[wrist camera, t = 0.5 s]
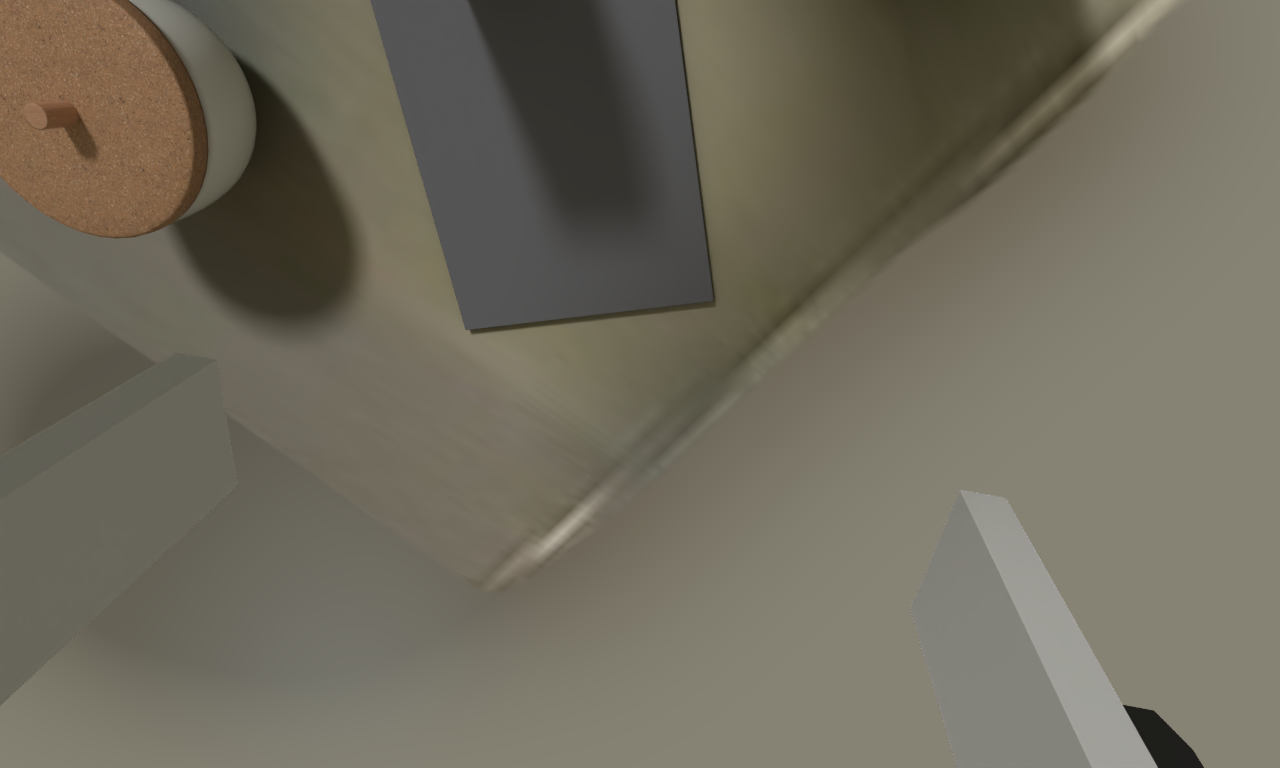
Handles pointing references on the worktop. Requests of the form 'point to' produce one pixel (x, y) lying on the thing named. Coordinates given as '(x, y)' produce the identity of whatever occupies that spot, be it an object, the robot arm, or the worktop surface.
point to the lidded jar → (119, 112)
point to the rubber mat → (553, 153)
